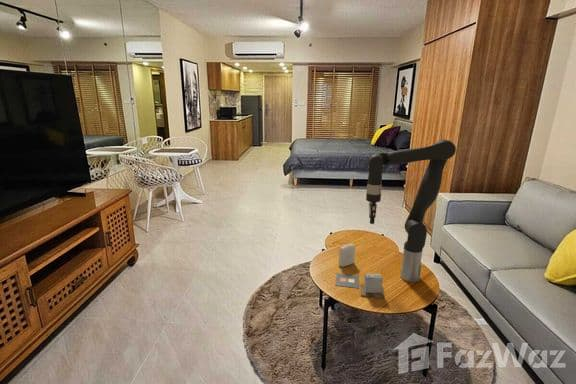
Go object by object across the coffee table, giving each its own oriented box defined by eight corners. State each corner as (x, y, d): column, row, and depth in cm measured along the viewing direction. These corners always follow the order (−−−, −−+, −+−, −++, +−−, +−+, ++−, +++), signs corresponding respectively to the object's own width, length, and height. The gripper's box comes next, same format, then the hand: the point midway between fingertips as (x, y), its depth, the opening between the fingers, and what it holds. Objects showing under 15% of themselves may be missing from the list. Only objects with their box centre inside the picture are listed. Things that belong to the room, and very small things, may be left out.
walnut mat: (382, 288, 159) (382, 287, 159) (384, 298, 150) (384, 297, 150) (360, 285, 161) (360, 284, 161) (361, 296, 153) (361, 294, 152)
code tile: (358, 275, 170) (358, 275, 170) (358, 288, 159) (358, 288, 159) (336, 273, 173) (336, 273, 173) (335, 285, 161) (335, 285, 161)
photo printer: (350, 259, 187) (351, 241, 184) (355, 262, 184) (356, 243, 180) (337, 264, 182) (338, 245, 178) (342, 267, 178) (343, 248, 175)
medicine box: (379, 288, 157) (380, 273, 155) (381, 293, 153) (382, 278, 151) (363, 288, 158) (364, 273, 155) (365, 293, 153) (366, 278, 151)
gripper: (382, 196, 156) (379, 226, 160) (380, 188, 169) (377, 216, 174) (367, 195, 157) (364, 225, 162) (366, 188, 171) (364, 215, 175)
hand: (371, 220), depth 168 cm, fingers open, 8 cm apart
